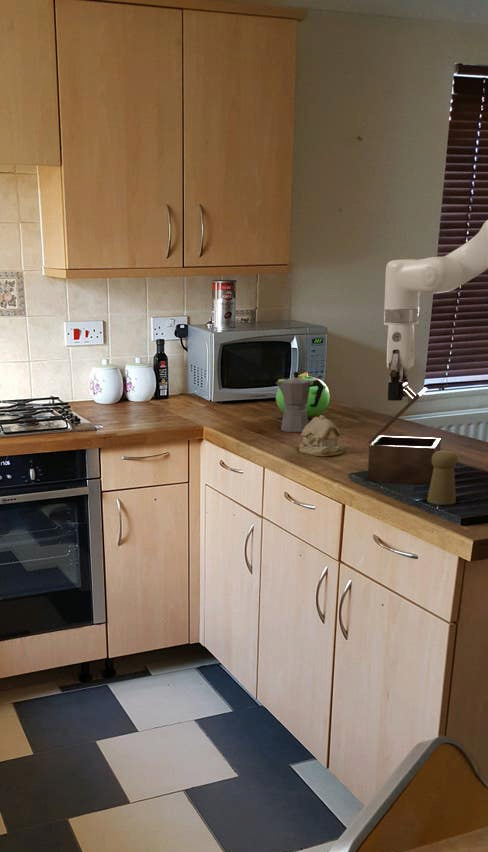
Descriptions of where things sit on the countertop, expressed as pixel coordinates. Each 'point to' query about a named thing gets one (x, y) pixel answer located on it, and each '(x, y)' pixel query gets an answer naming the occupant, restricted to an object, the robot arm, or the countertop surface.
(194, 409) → the countertop surface
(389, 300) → the robot arm
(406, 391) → the lid
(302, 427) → the coffeepot
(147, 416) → the countertop surface
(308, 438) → the ceramic model
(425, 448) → the chest
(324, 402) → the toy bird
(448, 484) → the cork
